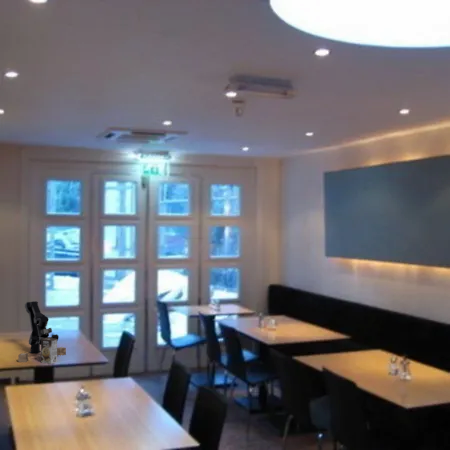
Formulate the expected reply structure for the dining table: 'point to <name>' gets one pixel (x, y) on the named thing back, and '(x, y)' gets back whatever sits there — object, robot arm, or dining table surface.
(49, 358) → the coffee box
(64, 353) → the walnut cube
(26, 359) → the walnut cube
